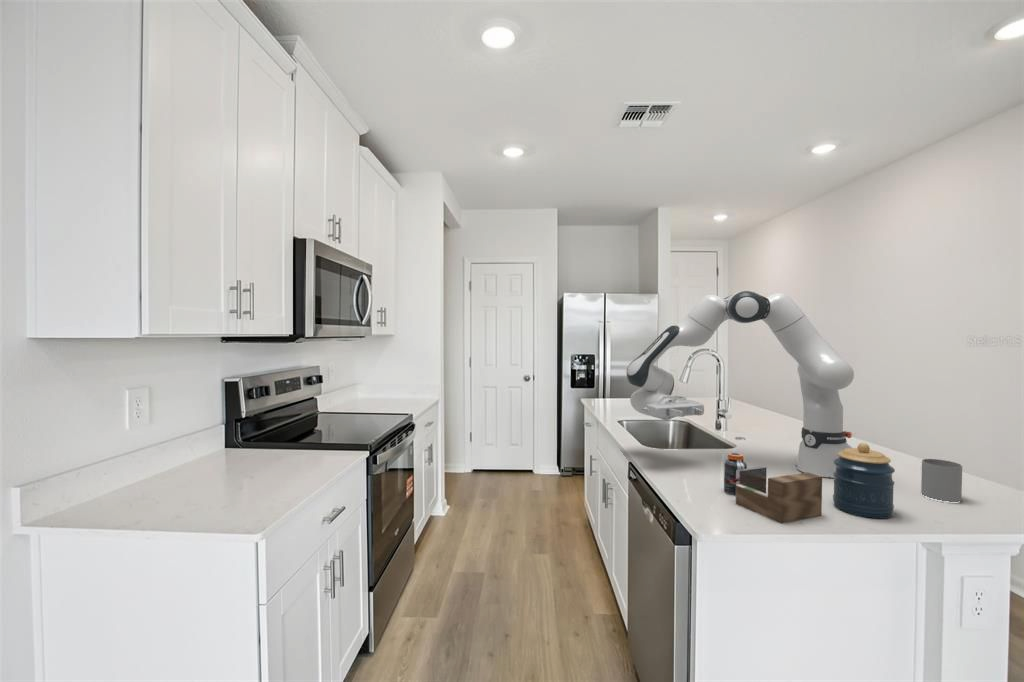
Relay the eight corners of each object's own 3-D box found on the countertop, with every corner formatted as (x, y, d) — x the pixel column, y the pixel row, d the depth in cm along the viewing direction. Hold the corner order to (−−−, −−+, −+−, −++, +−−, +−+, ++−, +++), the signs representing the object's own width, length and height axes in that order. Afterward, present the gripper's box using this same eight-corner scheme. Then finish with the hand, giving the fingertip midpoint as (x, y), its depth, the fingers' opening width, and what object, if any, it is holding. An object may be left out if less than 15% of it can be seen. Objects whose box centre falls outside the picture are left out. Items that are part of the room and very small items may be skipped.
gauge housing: (773, 497, 134) (774, 462, 134) (821, 515, 121) (822, 476, 121) (735, 503, 129) (736, 467, 129) (781, 523, 116) (782, 482, 116)
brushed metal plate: (762, 494, 136) (762, 466, 135) (766, 495, 134) (766, 467, 134) (728, 499, 131) (729, 470, 131) (732, 501, 130) (732, 472, 130)
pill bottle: (749, 496, 135) (749, 457, 135) (726, 495, 136) (727, 456, 136) (743, 489, 141) (743, 451, 140) (721, 488, 142) (722, 450, 142)
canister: (897, 523, 116) (899, 452, 116) (833, 512, 123) (835, 445, 123) (889, 506, 127) (891, 441, 127) (831, 497, 134) (832, 435, 134)
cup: (951, 494, 137) (952, 460, 136) (968, 504, 129) (969, 468, 129) (915, 491, 139) (916, 457, 139) (929, 501, 132) (930, 465, 131)
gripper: (639, 399, 164) (665, 405, 151) (686, 396, 171) (716, 402, 158) (639, 417, 164) (665, 425, 151) (686, 414, 171) (715, 421, 158)
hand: (691, 413), depth 155 cm, fingers open, 6 cm apart
